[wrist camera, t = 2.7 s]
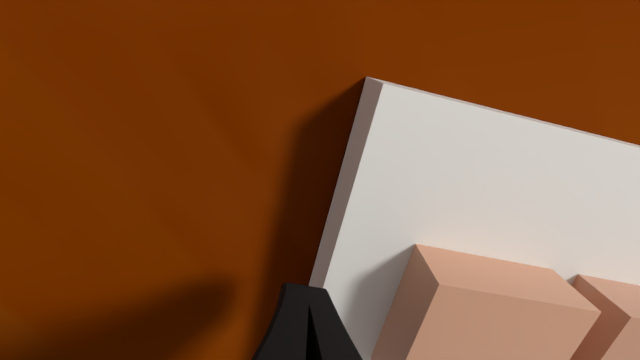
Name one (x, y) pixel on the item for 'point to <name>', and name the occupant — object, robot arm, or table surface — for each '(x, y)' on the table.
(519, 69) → the table surface
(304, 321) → the robot arm
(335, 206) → the board
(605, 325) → the tile
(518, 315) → the tile
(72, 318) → the table surface
